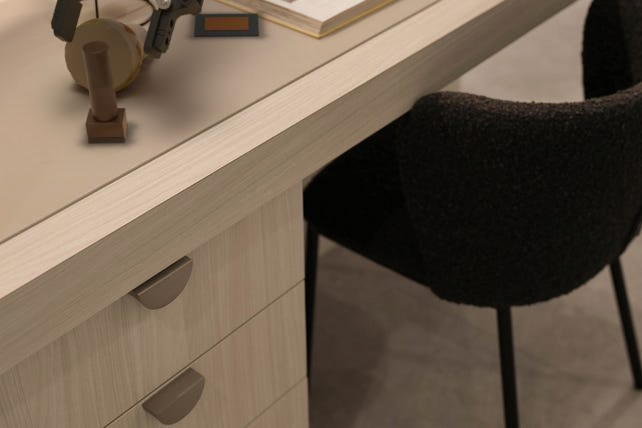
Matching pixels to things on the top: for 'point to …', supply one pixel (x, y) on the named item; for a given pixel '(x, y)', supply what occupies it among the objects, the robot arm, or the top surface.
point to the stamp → (102, 97)
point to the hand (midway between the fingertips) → (105, 47)
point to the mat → (226, 25)
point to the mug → (122, 45)
